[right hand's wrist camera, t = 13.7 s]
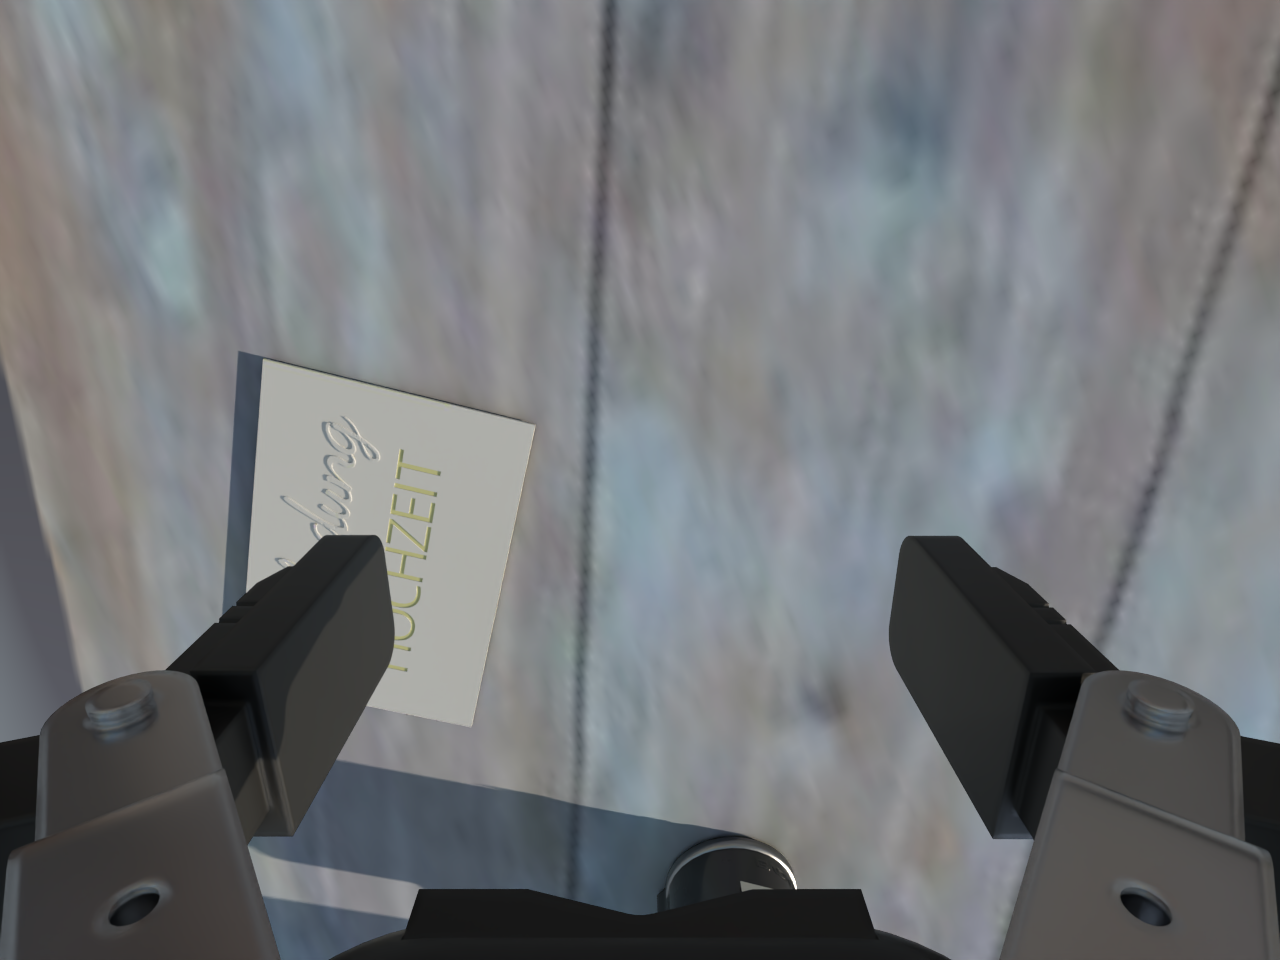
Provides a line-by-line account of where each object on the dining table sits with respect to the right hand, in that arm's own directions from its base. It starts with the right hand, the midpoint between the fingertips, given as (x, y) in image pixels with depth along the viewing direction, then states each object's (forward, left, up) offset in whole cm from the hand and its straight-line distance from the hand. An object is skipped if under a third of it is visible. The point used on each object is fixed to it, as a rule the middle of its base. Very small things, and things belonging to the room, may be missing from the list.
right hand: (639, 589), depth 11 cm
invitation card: (-21, +1, -29) cm, 36 cm away
